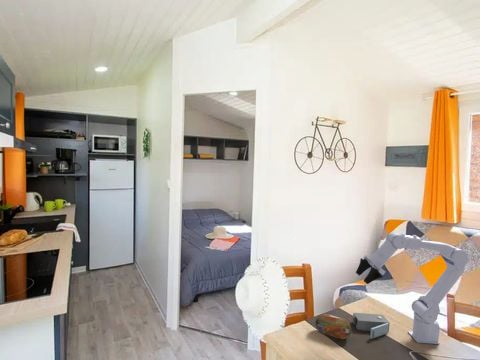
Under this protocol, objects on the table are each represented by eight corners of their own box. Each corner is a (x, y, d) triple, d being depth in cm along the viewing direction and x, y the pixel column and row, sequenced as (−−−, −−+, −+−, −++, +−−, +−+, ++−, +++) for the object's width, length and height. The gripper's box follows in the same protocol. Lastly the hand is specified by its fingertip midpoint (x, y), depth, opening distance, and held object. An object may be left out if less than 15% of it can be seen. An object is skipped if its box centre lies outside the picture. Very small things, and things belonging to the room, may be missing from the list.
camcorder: (381, 323, 140) (382, 313, 139) (388, 332, 133) (389, 321, 132) (350, 321, 140) (351, 311, 140) (355, 329, 133) (356, 319, 133)
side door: (386, 332, 133) (387, 322, 132) (389, 333, 131) (389, 324, 131) (370, 337, 127) (370, 328, 127) (372, 339, 126) (373, 330, 126)
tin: (314, 331, 131) (316, 313, 130) (316, 327, 134) (317, 310, 133) (349, 342, 124) (351, 323, 123) (350, 338, 127) (352, 319, 126)
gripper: (367, 244, 134) (347, 265, 135) (384, 257, 120) (362, 281, 121) (378, 252, 135) (358, 274, 136) (396, 267, 121) (374, 290, 122)
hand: (361, 278), depth 129 cm, fingers open, 7 cm apart
